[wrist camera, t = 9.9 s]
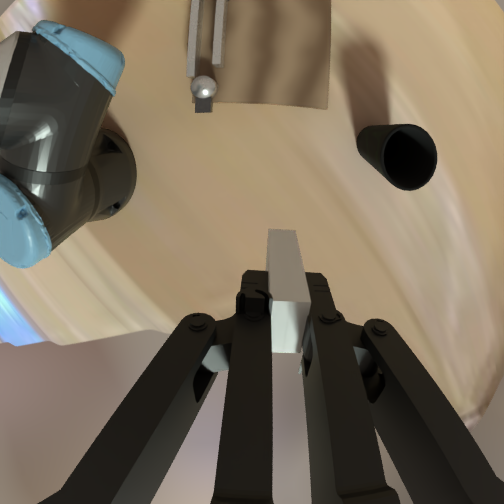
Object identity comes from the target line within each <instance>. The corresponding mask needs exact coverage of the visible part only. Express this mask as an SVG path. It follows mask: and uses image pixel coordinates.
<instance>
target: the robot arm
mask: <svg viewBox="0 0 504 504" xmlns="http://www.w3.org/2000/svg"><path fill="white" fill-rule="evenodd" d="M32 31H33V32H32V33H29V32H21V31H16V32H14V33H13V34H11V35H10V36H9V37H7V38H6V39H4V40H3V41H2V42H0V258H1V259H3V260H4V261H5V262H7V263H8V264H10V265H12V266H14V267H17V268H28V267H31V266H33V265H35V264H36V263H38V262H39V261H41V260H42V259H43V258H46V257H48V256H49V254H50V252H51V251H52V250H54V249H55V248H56V247H57V246H58V245H59V244H61V243H62V242H63V241H64V240H65V239H67V238H68V237H69V236H70V235H71V234H73V233H74V232H75V231H76V230H78V229H79V228H80V227H81V226H83V225H84V224H85V223H86V222H92V221H98V220H104V219H107V218H109V217H111V216H113V215H115V214H116V213H117V212H119V211H120V210H121V209H122V208H124V207H125V205H126V204H127V203H128V202H129V200H130V199H131V197H132V195H133V192H134V189H135V185H136V177H137V173H136V164H135V160H134V157H133V154H132V152H131V150H130V148H129V146H128V145H127V144H126V142H125V141H124V140H123V139H122V138H121V137H120V136H119V135H117V134H116V133H114V132H112V131H110V130H107V129H103V128H100V127H101V125H102V122H103V119H104V117H105V114H106V112H107V109H108V107H109V104H110V102H111V99H112V97H113V96H115V94H116V91H115V89H116V86H117V84H118V81H119V79H120V76H121V74H122V72H123V69H124V66H125V58H124V56H123V54H122V52H121V51H120V50H118V49H117V48H115V47H114V46H112V45H110V44H108V43H106V42H105V41H103V40H101V39H98V38H96V37H94V36H92V35H90V34H87V33H85V32H82V31H80V30H77V29H74V28H71V27H66V26H65V25H61V24H58V23H56V22H52V21H48V20H41V21H40V22H38V23H37V24H36V25H35V26H34V27H33V29H32ZM328 286H329V285H328V282H327V279H326V278H325V277H324V276H323V275H322V274H321V273H310V272H305V271H304V266H303V262H302V257H301V253H300V249H299V244H298V240H297V236H296V231H295V230H281V229H269V231H268V244H267V258H266V271H258V270H247V271H246V272H245V273H244V274H243V275H242V282H241V289H240V292H238V294H237V296H236V313H235V314H234V315H233V316H232V317H230V318H227V319H224V320H219V321H215V319H214V318H213V317H211V316H210V315H208V314H205V313H193V314H190V315H187V316H185V317H184V318H183V319H182V320H181V322H180V323H179V324H178V326H177V327H176V328H175V330H174V331H173V332H172V334H171V335H170V336H169V338H168V339H167V340H166V342H165V343H164V345H163V346H162V347H161V349H160V350H159V351H158V353H157V354H156V356H155V357H154V358H153V360H152V361H151V362H150V364H149V365H148V367H147V368H146V370H145V371H144V372H143V373H142V375H141V376H140V377H139V379H138V380H137V382H136V383H135V384H134V386H133V387H132V389H131V390H130V391H129V393H128V394H127V396H126V397H125V398H124V400H123V401H122V402H121V404H120V405H119V407H118V408H117V410H116V411H115V412H114V414H113V415H112V416H111V418H110V420H109V421H108V422H107V424H106V425H105V426H104V428H103V429H102V431H101V432H100V434H99V435H98V436H97V438H96V439H95V441H94V442H93V443H92V445H91V447H90V448H89V449H88V451H87V452H86V453H85V455H84V456H83V458H82V459H81V461H80V462H79V464H78V465H77V466H76V468H75V469H74V471H73V472H72V474H71V475H70V477H69V478H68V480H67V481H66V482H65V484H64V485H63V487H62V488H61V490H59V491H58V492H56V493H54V494H53V495H51V496H49V497H48V498H46V499H44V500H43V501H41V502H39V503H38V504H150V503H151V501H152V499H153V498H154V496H155V494H156V492H157V490H158V488H159V487H160V485H161V483H162V481H163V479H164V477H165V475H166V473H167V472H168V470H169V468H170V466H171V464H172V462H173V460H174V459H175V456H176V455H177V453H178V451H179V449H180V447H181V445H182V443H183V441H184V439H185V437H186V435H187V434H188V432H189V430H190V428H191V426H192V424H193V422H194V420H195V418H196V416H197V414H198V412H199V410H200V408H201V406H202V404H203V402H204V400H205V398H206V396H207V394H208V392H209V390H210V388H211V387H212V384H213V383H214V381H215V379H216V376H217V375H218V371H224V370H229V371H228V379H227V388H226V395H225V403H224V411H223V419H222V427H221V435H220V444H219V452H218V461H217V469H216V477H215V486H214V493H213V497H212V500H211V503H210V504H274V503H273V498H272V457H273V455H272V454H273V450H272V447H273V441H272V440H273V435H272V433H273V426H272V424H273V422H272V420H273V418H272V417H273V414H272V352H282V353H300V352H301V348H303V356H302V360H301V364H300V368H299V374H301V372H302V375H303V385H304V397H305V408H306V420H307V432H308V447H309V462H310V477H311V478H310V479H311V497H312V504H400V500H399V497H398V494H397V492H396V491H395V489H393V488H391V487H389V486H388V485H387V483H386V480H385V476H384V470H383V465H382V460H381V455H380V451H379V446H378V442H377V436H376V432H375V428H376V430H377V432H378V434H379V436H380V438H381V440H382V442H383V444H384V446H385V447H386V450H387V451H388V453H389V455H390V457H391V459H392V461H393V463H394V465H395V467H396V469H397V471H398V473H399V475H400V477H401V479H402V481H403V483H404V485H405V487H406V489H407V491H408V493H409V495H410V497H411V499H412V501H413V503H414V504H504V482H503V481H501V480H500V479H499V478H498V477H496V475H495V473H494V471H493V470H492V468H491V466H490V465H489V463H488V461H487V460H486V458H485V456H484V455H483V453H482V451H481V450H480V448H479V446H478V445H477V443H476V442H475V440H474V439H473V437H472V435H471V434H470V432H469V431H468V429H467V428H466V426H465V425H464V423H463V422H462V420H461V419H460V417H459V416H458V414H457V413H456V411H455V410H454V408H453V407H452V405H451V404H450V402H449V401H448V400H447V398H446V397H445V395H444V394H443V392H442V391H441V390H440V388H439V387H438V385H437V384H436V383H435V381H434V380H433V378H432V377H431V376H430V374H429V373H428V372H427V370H426V369H425V368H424V366H423V365H422V364H421V362H420V361H419V360H418V358H417V357H416V356H415V354H414V353H413V352H412V350H411V349H410V348H409V346H408V345H407V344H406V343H405V341H404V340H403V339H402V337H401V336H400V335H399V334H398V332H397V331H396V330H395V328H394V327H393V326H392V325H391V324H390V323H388V322H387V321H385V320H382V319H370V320H368V321H367V322H366V323H365V324H364V326H360V325H356V324H352V323H349V322H347V321H345V318H344V316H343V315H342V313H340V312H339V311H338V310H336V308H335V305H334V301H333V298H332V295H331V292H330V289H329V287H328ZM374 426H375V428H374Z"/></svg>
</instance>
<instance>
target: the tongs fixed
mask: <svg viewBox="0 0 504 504" xmlns="http://www.w3.org/2000/svg"><path fill="white" fill-rule="evenodd" d="M204 1H205V0H192V3H191V13H190V25H189V39H188V55H187V77H189V78H191V79H194V80H193V82H192V84H191V91H192V93H193V95H195V96H196V97H198V98H195V113H205V112H212V106H213V97H214V96H215V95H216V94H217V92H218V84H217V82H216V81H215V80H213V79H212V78H210V77H208V76H200V57H201V40H202V25H203V13H204Z"/></svg>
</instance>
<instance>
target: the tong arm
mask: <svg viewBox="0 0 504 504" xmlns="http://www.w3.org/2000/svg"><path fill="white" fill-rule="evenodd" d="M228 1H229V0H217V1H216V13H215V26H214V41H213V58H212V64H213V65H214V66H215V67H216V68H219V67H224V52H225V36H226V21H227V7H228Z"/></svg>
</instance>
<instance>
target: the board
mask: <svg viewBox="0 0 504 504" xmlns="http://www.w3.org/2000/svg"><path fill="white" fill-rule="evenodd" d="M216 1H217V0H205V1H204V13H203V25H202V40H201V57H200V76H208V77H210V78H212V79H213V80H215V81H216V82H217V84H218V92H217V94H216V95H215V96H214V97H213V103H252V104H272V105H286V106H297V107H307V108H316V109H324V110H326V109H327V108H328V92H329V74H330V48H331V0H229V1H228V7H227V21H226V36H225V52H224V67H219V68H216V67H215V66H214V65H213V64H212V58H213V41H214V26H215V13H216ZM193 80H194V79H193ZM195 98H198V97H196V96H195V95H193V93H192V103H195Z"/></svg>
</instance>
